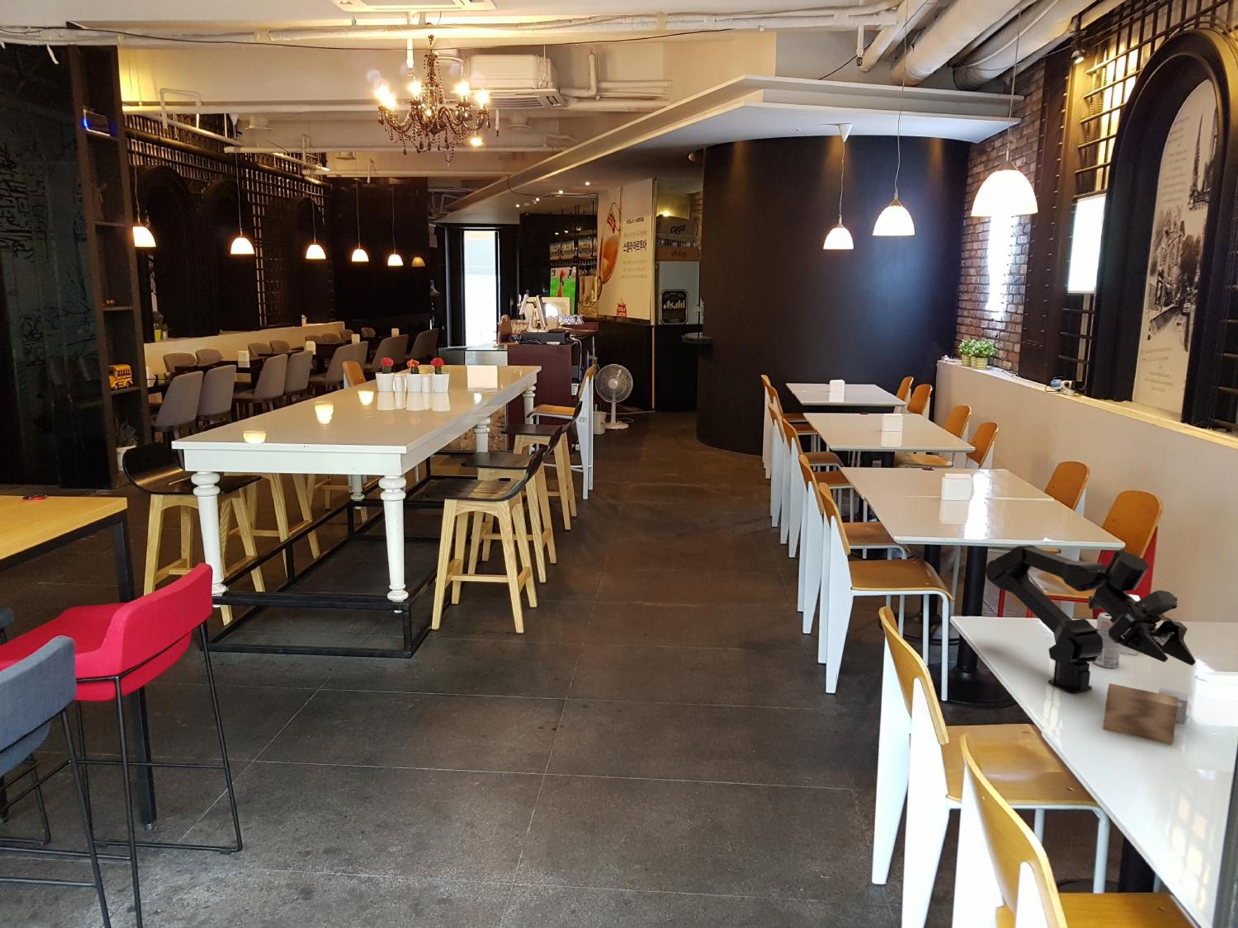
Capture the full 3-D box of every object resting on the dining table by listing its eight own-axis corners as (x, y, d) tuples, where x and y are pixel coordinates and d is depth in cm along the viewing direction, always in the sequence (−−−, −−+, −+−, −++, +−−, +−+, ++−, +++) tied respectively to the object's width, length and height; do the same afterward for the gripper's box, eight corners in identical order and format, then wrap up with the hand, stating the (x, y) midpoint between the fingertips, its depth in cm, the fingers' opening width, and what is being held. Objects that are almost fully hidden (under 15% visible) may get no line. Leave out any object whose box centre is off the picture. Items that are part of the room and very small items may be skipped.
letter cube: (1156, 708, 192) (1159, 686, 191) (1184, 714, 189) (1187, 692, 188) (1156, 718, 187) (1159, 695, 186) (1184, 724, 185) (1187, 701, 184)
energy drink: (1112, 660, 218) (1117, 612, 215) (1122, 669, 212) (1128, 620, 210) (1089, 659, 218) (1094, 611, 216) (1098, 667, 213) (1103, 619, 211)
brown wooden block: (1102, 729, 182) (1107, 691, 181) (1104, 719, 186) (1109, 683, 185) (1172, 744, 176) (1177, 706, 174) (1172, 734, 180) (1177, 697, 179)
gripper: (1118, 572, 181) (1179, 627, 168) (1173, 583, 189) (1235, 636, 177) (1084, 614, 185) (1141, 669, 173) (1139, 622, 194) (1197, 676, 182)
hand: (1180, 662), depth 176 cm, fingers open, 9 cm apart
